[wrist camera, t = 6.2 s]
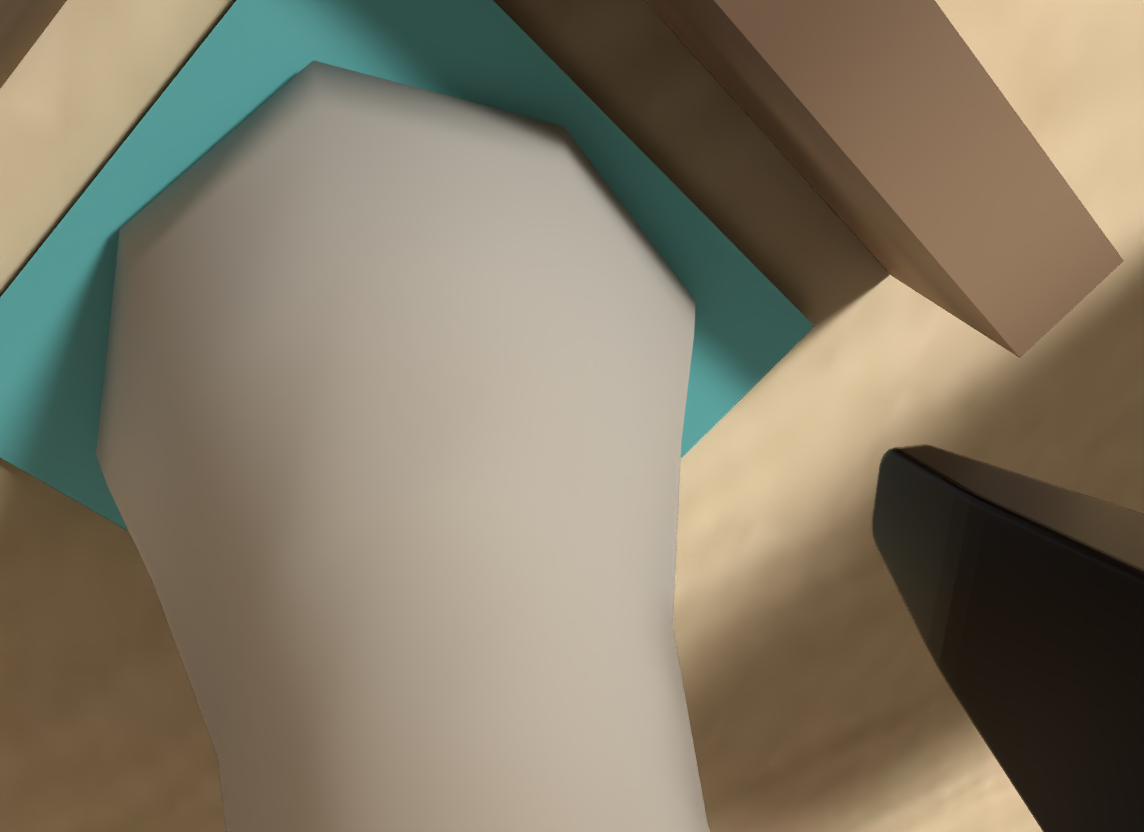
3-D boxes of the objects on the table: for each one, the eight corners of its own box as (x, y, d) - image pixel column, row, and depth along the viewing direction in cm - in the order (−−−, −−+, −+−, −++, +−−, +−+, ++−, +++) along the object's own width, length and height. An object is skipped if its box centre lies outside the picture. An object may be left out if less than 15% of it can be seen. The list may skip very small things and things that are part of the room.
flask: (-5, 470, 12) (-853, 1828, 4) (276, -70, 10) (-55, -22, 2) (490, 666, 15) (696, 1681, 6) (780, 271, 13) (1634, 947, 5)
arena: (973, 195, 14) (1123, 260, 11) (291, 865, 17) (282, 1043, 14) (301, -650, 9) (287, -893, 6) (-510, 509, 12) (-760, 682, 9)
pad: (805, 318, 14) (814, 326, 14) (430, 691, 16) (431, 704, 15) (351, -143, 11) (351, -145, 10) (-78, 396, 12) (-88, 408, 12)
